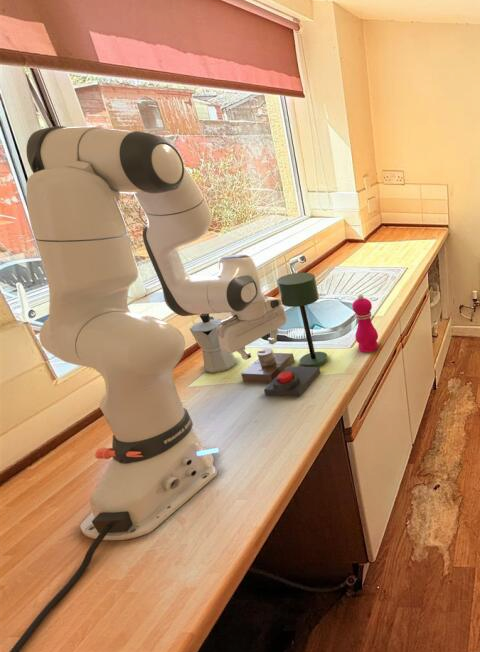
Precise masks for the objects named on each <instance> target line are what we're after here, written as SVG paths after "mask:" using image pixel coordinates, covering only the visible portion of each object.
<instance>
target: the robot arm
mask: <svg viewBox="0 0 480 652" xmlns="http://www.w3.org/2000/svg"><path fill="white" fill-rule="evenodd" d="M26 159H27V162H28V165H29V167H30V169H31V172H32V174H30V176H29V177H28V178H27V181H26V185H25V186H26V187H25V188H26V203H27V204H26V206H27V211H28V212H27V213H28V218H29V223H30V226H31V230H32V234H33V238H34V240H35V241H34V242H35V244H36V247H37V250H38V253H39V256H40V260H41V263H42V266H43V270H44V272H45V276H46V279H47V285H48V291H49V293H48V294H49V305H48V306H49V307H48V318H46V320H45V321H44V322H43V323H42V325H41V327H40V329H39V332H38V333H39V334H38V335H39V337H38V338H39V342H40V345H41V346H42V348H43V349H45V351H46V352H48V353H49V354H51V355H53V356H54V357H55V358H58V359H59V360H61V361H63V362H65V363H68V364H71V365H76V366H81V367H85V368H89V369H92V370H95V371H96V372H98V373H99V374H100V376H101V377H102V378H103V380H104V385H105V394H104V395H102V397H101V399H100V402H99V407H100V408H99V409H100V410H101V412H102V414H103V417H104V418H105V421H106V422H107V424H108V426H109V428H110V430H111V432H112V445H111V447H99V448H98V449H97V450H96V451H95V453H94V458H95V459H97V460H102V459H104V460H110V459H111V458H112V459H111V461H110V463H109V464H108V465H107V468H106V469H105V471H104V473H103V474H102V476H101V478H100V479H99V481H98V483H97V485H96V486H95V488H94V489H93V491H92V493H91V494H90V498H89V505H90V509H91V512H90V514H89V515H87V516H86V517H85V519H84V520H83V521H82V522H81V523H80V524H79V528H80V531H81V533H82V534H83V535H84V536H85V537H87V538H90V539H94V540H93V542H92V543H91V545H90V546H89V548H88V549H87V551H86V553H85V555H84V558H83V561H82V562H81V565H80V566H78V569H77V570H76V571H75V572H74V574H73V575H72V577H71V578H70V579H69V580H68V581H67V582H66V584H65V585H63V587H62V588H61V589H60V590H59V592H58V593H56V595H55V596H54V597H53V598H51V600H50V601H49V602H48V603H47V604H46V605H45V606H44V608H43V609H42V610H41V611H40V613H39V614H38V615H37V617H35V618H34V619H33V621H32V623H30V625H29V626H28V627H27V629H25V631H24V633H23V634H22V635H21V637H20V638H19V639H18V640H17V642H16V643H15V644H14V645H13V646H12V648H11V649H10V650H9V652H20V651H21V650H22V648H23V647H24V646H25V644H26V643H27V642H28V641H29V639H30V638H31V637H32V635H33V634H34V632H36V630H37V628H38V627H40V625H41V624H42V622H43V621H44V620H45V619H46V617H47V616H48V615H49V614H50V612H51V611H52V610H53V609H54V608H55V606H56V605H57V604H58V603H59V602H60V601H61V600H62V598H63V597H64V596H66V594H67V593H68V592H69V591H70V590H71V589H72V588H73V587H74V585H75V584H76V583H77V582H78V580H79V579H80V578H81V577H82V576H83V574H84V572H85V571H86V569H87V568H88V566H89V565H90V563H91V561H92V559H93V556H94V554H95V552H96V551H97V548H98V547H99V545H100V544H101V543H102V542H103V541H123V540H130V539H135V538H139V537H142V536H144V535H147V534H150V533H151V532H153V531H154V530H155V529H156V528H158V527H159V526H160V525H161V524H162V523H164V521H165V520H167V519H168V518H169V517H170V516H171V515H172V514H174V513H175V512H176V511H178V509H180V508H181V507H182V506H183V505H184V504H186V503H187V502H188V501H189V500H190V499H191V498H192V497H193V496H195V495H196V494H197V493H198V492H199V491H200V490H202V488H204V487H205V486H206V485H207V484H209V483H210V482H211V481H212V480H213V479H214V478H215V477H216V476H217V475H218V470H217V468H216V467H215V465H214V463H215V459H214V458H215V457H214V455H213V454H217V453H219V452H220V451H219V448H218V447H216V448H209V449H207V448H206V447H205V445H204V444H203V443H202V442H201V440H200V439H199V437H198V436H197V434H196V432H195V431H194V428H193V425H194V424H193V421H192V418H191V415H190V414H189V412H188V409H187V408H186V407H184V406H183V403H182V401H181V398H180V395H179V393H178V390H177V388H176V385H175V384H176V383H175V380H174V378H175V377H174V368H175V366H176V365H177V364H179V362H180V361H181V359H182V358H183V356H184V353H185V351H186V341H185V336H184V334H183V333H182V332H181V331H180V329H179V328H178V327H176V326H174V325H172V324H171V323H168V322H166V321H164V320H161V319H159V318H157V317H154V316H150V315H144V314H139V313H134V312H133V313H132V312H131V311H130V308H129V305H128V295H129V290H130V287H131V286H132V285H133V284H134V283H135V282H136V281H137V279H138V276H139V271H138V267H137V262H136V259H135V255H134V252H133V247H132V244H131V238H130V234H129V232H128V228H127V225H126V221H125V218H124V216H123V213H122V210H121V208H120V205H119V198H120V195H121V194H133V196H134V197H135V199H136V201H137V203H138V205H139V206H140V208H141V210H142V211H143V213H144V215H145V218H146V220H147V224H146V225H145V226H144V227H143V229H142V241H143V244H144V247H145V250H146V252H147V255H148V257H149V259H150V262H151V265H152V266H153V269H154V271H155V274H156V276H157V278H158V280H159V283H160V286H161V288H162V292H163V299H164V301H165V302H164V303H165V305H166V306H167V307H168V308H169V309H170V310H171V311H172V312H173V313H174V314H175V315H177V316H180V317H190V316H191V317H192V316H197V315H198V316H200V315H201V314H209V315H211V314H212V315H213V314H228V313H230V314H231V316H230V317H228V318H226V319H222V320H223V321H221V322H220V324H219V325H218V327H217V333H218V339H219V344H220V348H221V350H223V351H225V352H230V353H235V352H237V353H238V354H240V356H241V359H243V360H244V361H247V360H250V359H251V358H252V355H251V352H250V351H245V350H246V346H248V345H250V344H251V343H254V342H256V341H258V340H259V339H261V338H263V337H265V336H267V335H269V337H268V338H267V341H268V344H269V345H275V344H277V343H278V339H277V338H278V337H277V336H278V334H279V328H281V327H283V326H285V325H286V323H287V321H288V320H287V314H286V311H285V308H284V306H283V304H282V301H281V298H278V297H273V296H265V294H264V293H263V291H262V288H261V285H262V283H261V279H260V275H259V271H258V268H257V266H256V264H255V262H254V260H253V258H252V257H251V256H250V255H247V254H231V255H230V254H229V255H223V256H221V257H219V258H218V260H217V261H218V270H219V272H218V273H217V274H216V275H214V276H194V275H191V274H189V273H187V272H186V270H185V267H184V264H183V262H182V261H183V260H182V259H181V257H180V253H179V251H178V248H181V247H182V246H186V245H188V244H191V243H193V242H195V241H197V240H199V239H200V238H201V237H203V236H204V235H205V234H206V233H207V232H208V230H209V229H210V227H211V224H212V220H213V216H212V211H211V209H210V206H209V204H208V202H207V200H206V198H205V197H204V194H203V193H202V191H201V188H200V187H199V186H198V184H197V182H196V180H195V179H194V177H193V176H192V174H191V173H190V171H189V170H188V168H187V167H186V166H185V164H184V161H183V158H182V156H181V154H180V153H179V151H178V150H177V149H176V148H175V147H174V146H173V144H172V143H171V142H170V141H168V140H167V139H165V138H164V137H162V136H160V135H158V134H153V133H150V132H147V131H141V130H135V131H131V130H130V131H129V130H125V129H114V128H113V129H112V128H107V127H102V126H70V127H69V126H63V125H57V126H51V127H50V126H49V127H45V128H41V129H38V130H36V131H34V132H33V133H32V134H30V136H29V138H28V139H27V144H26ZM220 325H221V326H220Z"/></svg>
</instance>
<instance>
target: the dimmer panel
mask: <svg viewBox="0 0 480 652" xmlns="http://www.w3.org/2000/svg"><path fill="white" fill-rule="evenodd" d="M273 354H274V358H275V363H274V364H272V365H270V366H261V365H260V361H259V358H257V359H256V360H255V361H253V363H251V364H250V365H249V366H248V367H247V368H246V369H245V370H243V371H242V372H241V373H240V375H241V378H242V382H243V383H258V384H259V383H261V384H270V383H271V382H272V381H273V379H274V378H276V377H277V376H278V375H279V374H280V373H281V372H282V371H283V370H284V369H285V368H286V367H287V366H293V364H294V363H295V357H294V353H289V352H288V353H286V352H285V353H284V352H273Z"/></svg>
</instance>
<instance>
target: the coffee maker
mask: <svg viewBox="0 0 480 652" xmlns="http://www.w3.org/2000/svg"><path fill="white" fill-rule="evenodd" d="M199 319H201V321H199V322H196V323H194V324H193V325H192V326H191V327H190V328H189V330H190V332H191V334H192V336H193V338H194V340H195V341H196V343H197V345H198V347H199V348H201V349H202V358H203V366H204V371H205V373H210V374H211V373H212V374H216V373H217V374H218V373H220V372H225V371H228V370H230V369H231V368H232V367H235V366H236V365H237V359H236V356H235V355H234V354H233V353H234V352H233V353H230V352H225V351H223V350H221V348H220V344H219V339H218V333H217V327H218V325H219V324H220V322H221V321H223V320H224V319H221V318H214V317H213V316H212V315H211V316H210V314H199ZM220 326H221V325H220Z"/></svg>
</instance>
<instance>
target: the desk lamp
mask: <svg viewBox="0 0 480 652" xmlns="http://www.w3.org/2000/svg"><path fill="white" fill-rule="evenodd" d="M316 280H317V279H316V275H315V274H314V273H310V272H295V273H289V274H285V275H283V276H280V277H279V278H277V279H276V284H277V288H278V292H279V296H280V299H281V302H282V304H281V305H282V306H283V307H284V306H285V307H288V308H297V307H299V310H300V315H301V320H302V324H303V328H304V333H305V339H306V342H307V347H308V350H309V353H306V354H304V355H303V356H301V357H300V358H299V365H300V367H319V368H320V367H323V366H324V365H325V364H327V363H328V360H329V358H328V354H327V353H326V352H324V351H315V346H314V342H313V337H312V333H311V328H310V323H309V319H308V314H307V309H306V306H308V305H311V304H314V303H316V302H317V301H319V298H320V296H319V291H318V285H317V281H316Z"/></svg>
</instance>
